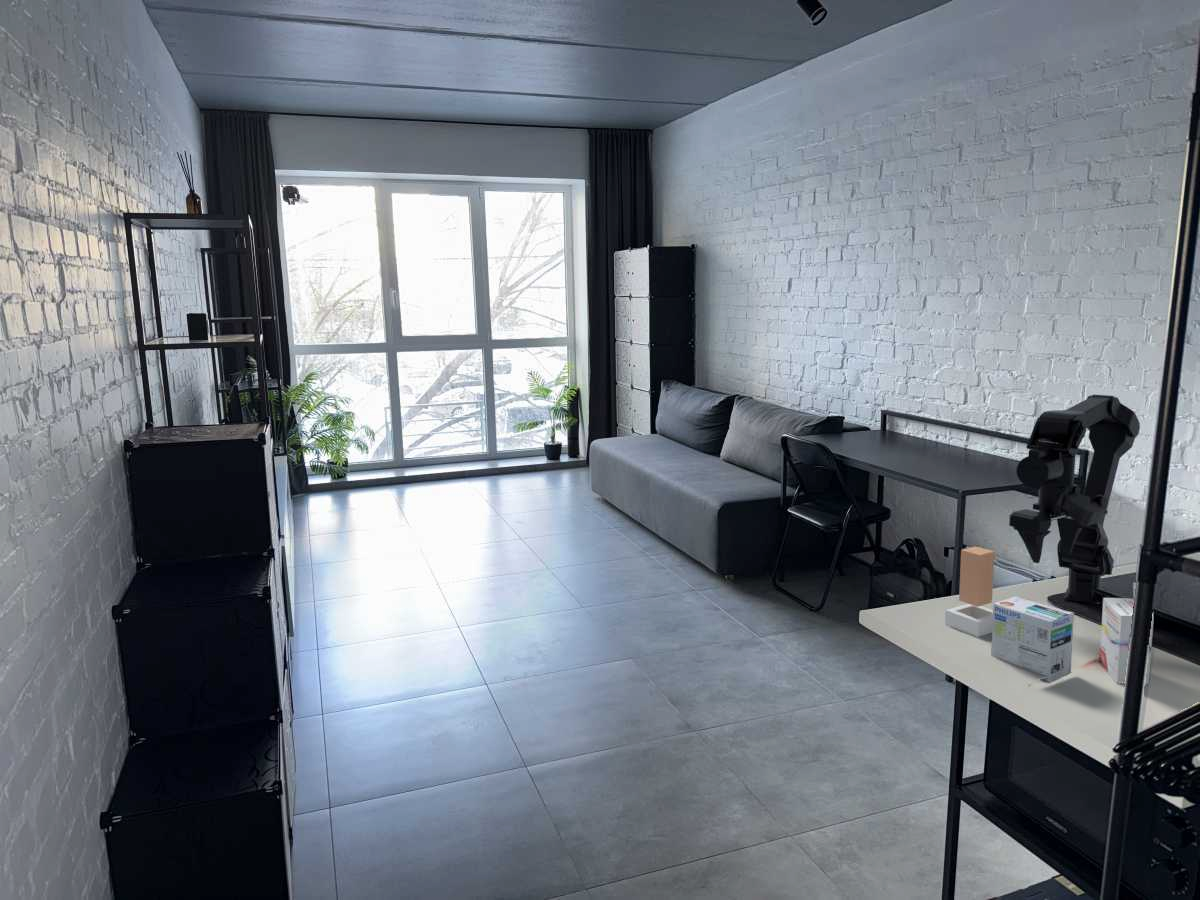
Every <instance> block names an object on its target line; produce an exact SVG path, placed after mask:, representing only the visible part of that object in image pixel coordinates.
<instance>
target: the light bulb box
mask: <svg viewBox="0 0 1200 900" xmlns="http://www.w3.org/2000/svg"><path fill="white" fill-rule="evenodd" d="M992 610H993V625H992V633H991V649H990V656H992V657H994V658H996V659H999V660H1002V661H1004V662H1007V663H1010V664H1013V665H1015V666H1018V667H1021V668H1023V669H1027V670H1029V671H1032V672H1035V673H1037V674H1040V675H1043V676H1045V677H1043V678H1041V679H1039V680H1040V681H1042V682H1046V683H1048V684H1049V683H1050V682H1053V681H1056V680H1057V679H1060V678H1062V677H1065V676H1067V675H1069V674H1071V673H1072V658H1073V657H1072V655H1073V653H1072V652H1073V641H1074V640H1073V637H1074V618H1075V613H1074V612H1072V611H1068V610H1064V609H1061V608H1057V607H1053V606H1049V605H1046V604H1043V603H1040V602H1035V601H1032V600H1028V599H1025V598H1022V597H1019V596H1016V595H1015V596H1012V597H1009V598H1006V599H1003V600H1000V601H996V602H994V603H993V608H992Z"/></svg>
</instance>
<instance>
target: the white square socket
mask: <svg viewBox="0 0 1200 900" xmlns="http://www.w3.org/2000/svg"><path fill="white" fill-rule="evenodd" d="M944 615H945V616H944V617H945V618H944V624H945V626H948V627H950V628H953V629H956V630H959V631H961V632H964V633H966V634H969V635H972V636H974V637H977V638H978V637H982V636H985V635H989V634H992V625H993V609H991V608H988V607H987V606H984V605H982V606H978V607H977V606H974V605H971V604H968V603H965V604H962V605H959V606H955V607H952V608H948V609H945V613H944Z"/></svg>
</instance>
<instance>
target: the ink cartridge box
mask: <svg viewBox="0 0 1200 900" xmlns="http://www.w3.org/2000/svg"><path fill="white" fill-rule="evenodd" d="M1136 584H1137V583H1136V581H1134V582H1132V587H1133V588H1132V589H1133V590H1132V591H1133V593H1132V594H1133V598H1128V597H1126V598H1124V597H1121V598H1120V597H1102V615H1101V630H1100V642H1099V655H1098V656H1099V657H1098V658H1099V659H1098V663H1100V665H1101V666H1102V667H1103V668H1104V670H1105V671H1106V670H1107V671H1106V672H1107V673H1108V675H1111V676H1112V677H1113V678H1112V677H1111V676H1110V677H1111V678H1112V679H1113V681H1114V680H1115V681H1116V682H1118V683H1117V684H1120V683H1119V682H1121V683H1122V682H1123V685H1125V684H1124V682H1125V676H1126V667H1127V659H1128V651H1129V643H1130V635H1131V624H1132V615H1133V606H1134V598H1135V589H1136ZM1154 618H1155V617H1154V612H1153V613H1152V621H1151V629H1150V637H1149V651H1148V663H1147V673H1146V683H1145V685H1144V686H1147V685H1149V683H1150V681H1149V680H1150V669H1151V655H1152V644H1153V632H1154V621H1155V620H1154ZM1115 681H1114V682H1115ZM1116 682H1115V683H1116Z"/></svg>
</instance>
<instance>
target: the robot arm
mask: <svg viewBox="0 0 1200 900" xmlns="http://www.w3.org/2000/svg"><path fill="white" fill-rule="evenodd" d="M1140 429H1141V424H1140V421H1139V418H1138V416H1137V415H1136V413H1135V411H1134V410H1132V409H1131V408H1129V407H1127V406H1126V405H1125V404H1123V403H1121V401H1120V400H1119V398H1118V397H1117V396H1115V395H1111V394H1110V395H1106V394H1091V395H1089V396H1087V398H1086V399H1084V400H1082V401H1081V402H1078V403H1077V404H1075V405H1072V406H1071V407H1068V408H1066V409H1063V410H1061V409H1060V410H1059V409H1058V410H1057V409H1056V410H1047V411H1046V410H1045V411H1043V412H1042V413H1041V414H1040V415H1039V417H1037V419H1036V421H1035V423H1034V426H1033V429H1032V431H1031V434H1030V437H1029V439H1028V442H1027V444H1026V449H1027V450H1028V456H1026V457H1023V458H1022V459H1021V460H1020V461H1019V462H1018V464H1017V466H1016V469H1015V470H1016V476H1017V478H1018V480H1019V482H1021V483H1022V485H1025V486H1026V487H1030V488H1033V489H1035V490H1036V489H1037V490H1038V500H1037V501H1038V502H1037V503H1032V510H1031V509H1028V508H1025V509H1020V510H1016V511H1013V512H1011V514H1009V519H1008V526H1009V527H1013V530H1016V531H1017V533H1018V535H1019V536H1020V539H1021V540H1022V541H1023V544H1024V545H1025V548H1026V550H1027V552H1028V555H1029V556H1030V559H1031V561H1032V562H1033V563H1035V564H1039V563H1040V561H1041V557H1042V552H1043V551H1042V550H1043V546H1044V539H1045V538H1046V536H1048V535H1049V534H1050V533H1052V531H1051V530H1049V529H1050V528H1051V526H1052V521H1055V520H1056V523H1057V526H1058V533H1059V541H1058V543H1057V549H1056V550H1057V558H1058V560H1057V561H1058V567H1060V568H1065V569H1069V570H1068V583H1067V588H1066V590H1065V593H1064V597H1063V599H1064V600H1065V601H1070V600H1075V601H1074V602H1077V601H1083V602H1082V603H1084V602H1092V603H1098V602H1097V601H1096V598H1095V594H1094V590H1095V589H1097V588H1099V587H1100V588H1101V583H1102V577H1104V576H1110V575H1112V573H1113V569H1114V563H1115V561H1114V558H1113V556H1112V554H1111V552H1110V549H1109V548H1108V547H1109V546H1108V545H1109V538H1108V536H1107V533H1106V531H1105V529H1104V522H1105V520H1106V519H1105V518H1106V515H1108V512H1109V511H1108V506H1109V504H1110V503H1109V502H1110V499H1111V495H1112V494H1111V493H1112V490H1113V487H1114V483H1115V479H1116V475H1117V471H1118V466H1119V463H1120V459H1121V458H1122V457H1123V456H1124V455H1125V454H1126V453H1127V452H1128V451H1130V450H1131V449H1132V448H1133V445H1134V442H1135V439H1136V438H1137V437H1138V435H1139V433H1140ZM1087 430H1088V432H1089V433H1088V439H1089V443H1090V444H1091V447H1092V449H1093V455H1092V459H1091V463H1090V466H1089V470H1088V474H1087V477H1086V482H1085V486H1084V489H1083V493H1082V494H1081V487H1080V485H1079V484H1075V471H1076V457H1077V456H1076V454H1077V453H1079V451H1080V450H1079V447H1080V445H1081V443H1082V441H1083V439H1084V438H1085V436H1086V432H1087ZM1035 510H1036V511H1035Z"/></svg>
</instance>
